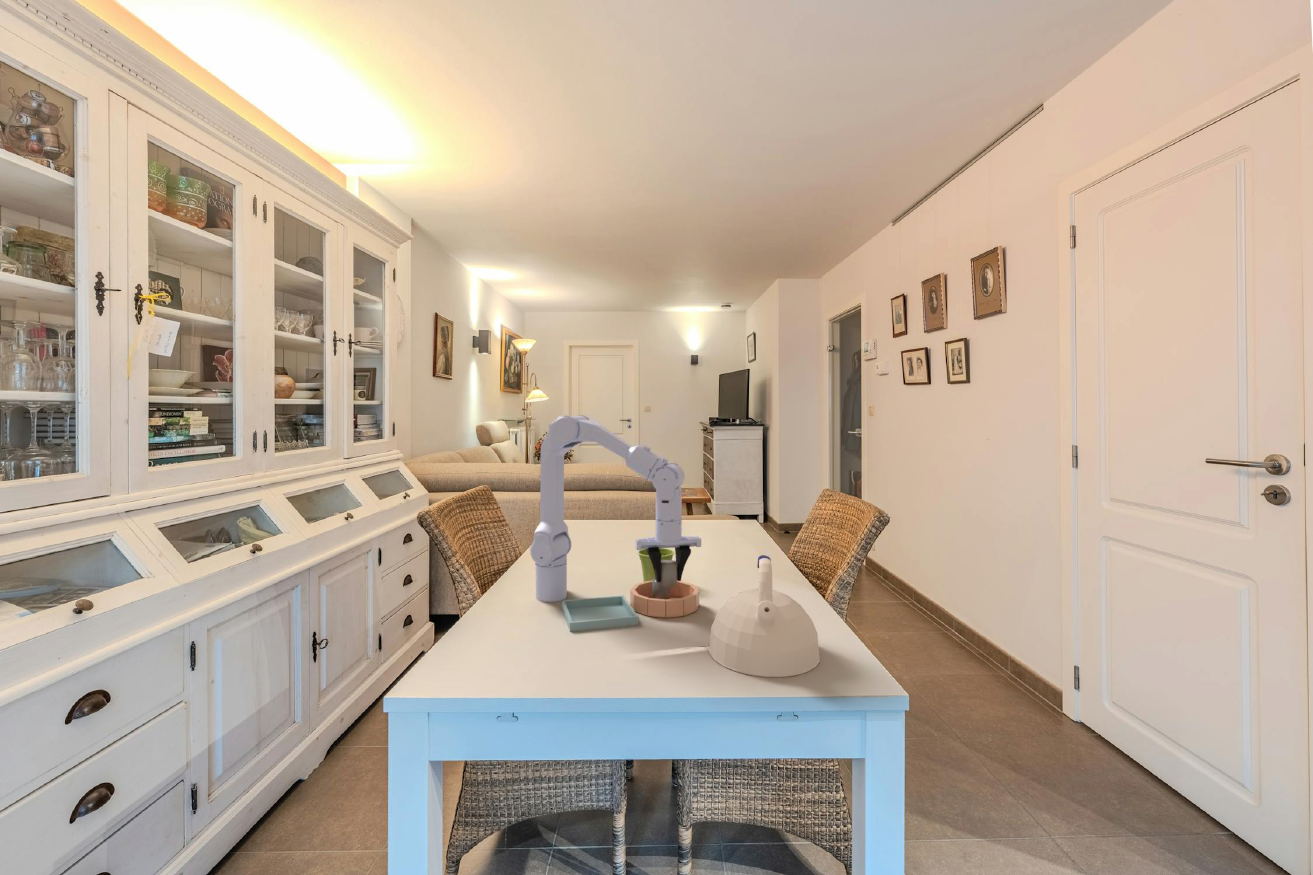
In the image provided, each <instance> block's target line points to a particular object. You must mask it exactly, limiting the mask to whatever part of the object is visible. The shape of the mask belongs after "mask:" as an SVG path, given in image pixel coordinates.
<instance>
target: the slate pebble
mask: <svg viewBox="0 0 1313 875" xmlns="http://www.w3.org/2000/svg"><path fill="white" fill-rule="evenodd" d="M660 569H661V582H659V585H660V586H661V587H666V588H671V587H676V586H677V581H678V580H677V574H678V562H677V561H676V560H673V559H672V560H663V561H661V567H660Z"/></svg>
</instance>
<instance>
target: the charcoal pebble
mask: <svg viewBox="0 0 1313 875" xmlns="http://www.w3.org/2000/svg"><path fill="white" fill-rule="evenodd" d="M653 598H654V599H670V588H666V587H661V586H660V585H659V582H657V581H656V579H655V578H653Z"/></svg>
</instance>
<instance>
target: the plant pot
mask: <svg viewBox="0 0 1313 875" xmlns="http://www.w3.org/2000/svg"><path fill="white" fill-rule="evenodd" d="M659 550H660V553H661V554H662V556H661V561H663V560H673V557H674V555H675V550H673V549H671V548H659ZM637 554H638V556H639V560H640V564H641V570H642V577H643V582H645V581H652V580H653V578H655V572H654V568H653V565H652V562H651V559H650V557H649V555H648V553H647V550H646V549H642V550H637Z"/></svg>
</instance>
